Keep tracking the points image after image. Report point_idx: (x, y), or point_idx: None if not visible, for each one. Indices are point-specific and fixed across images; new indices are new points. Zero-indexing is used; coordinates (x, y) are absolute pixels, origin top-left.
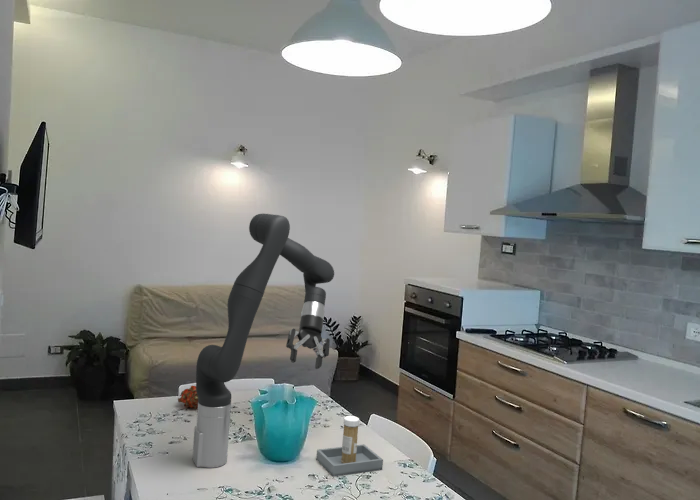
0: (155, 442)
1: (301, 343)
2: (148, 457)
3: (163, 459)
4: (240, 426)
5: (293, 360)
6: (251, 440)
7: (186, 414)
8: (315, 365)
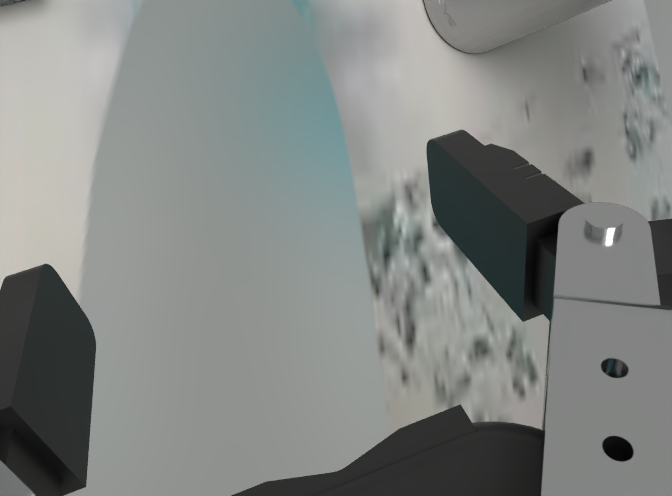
0: (622, 154)
1: (586, 314)
2: (619, 35)
3: (585, 19)
4: (413, 359)
5: (461, 139)
6: (359, 211)
7: None
8: (91, 364)
